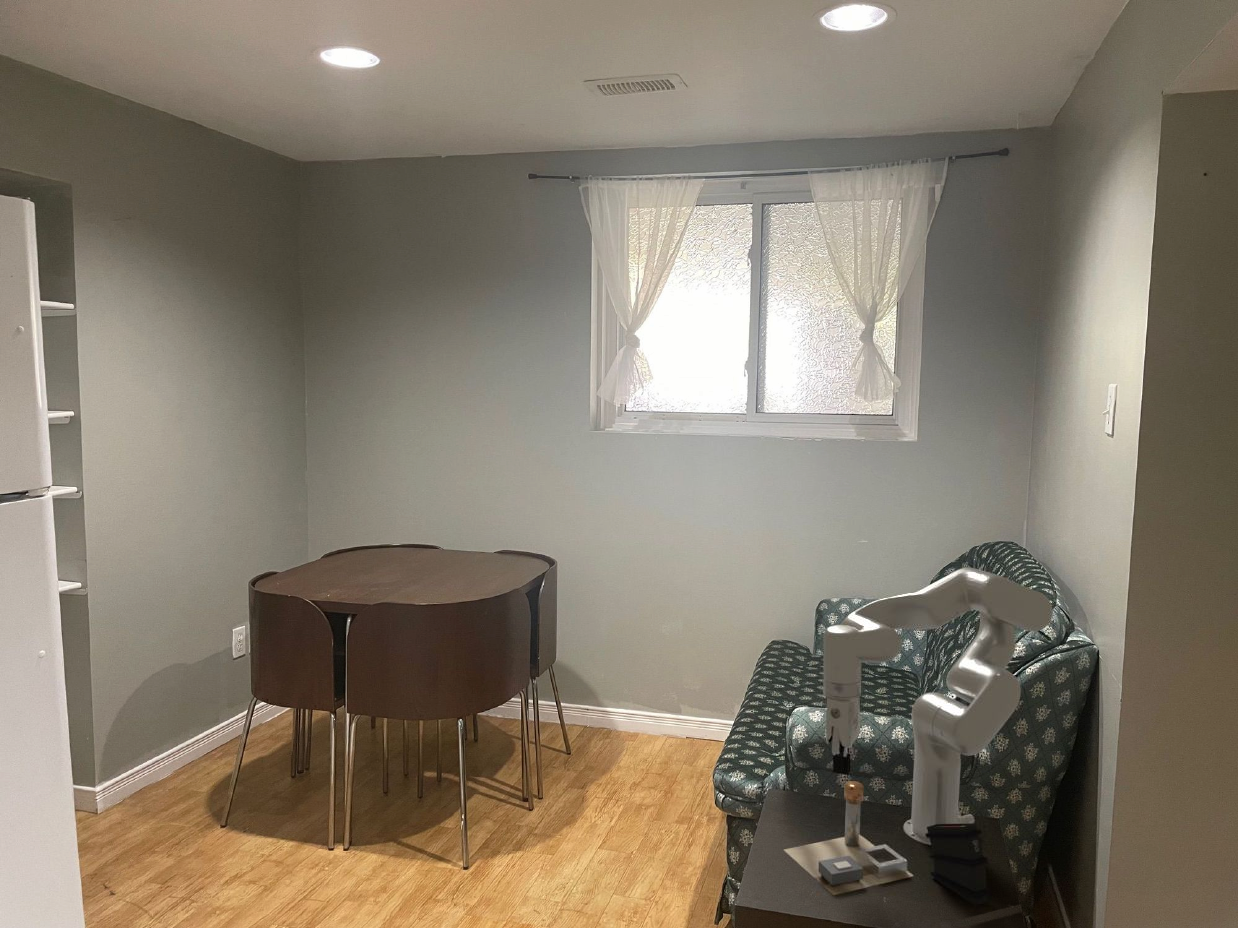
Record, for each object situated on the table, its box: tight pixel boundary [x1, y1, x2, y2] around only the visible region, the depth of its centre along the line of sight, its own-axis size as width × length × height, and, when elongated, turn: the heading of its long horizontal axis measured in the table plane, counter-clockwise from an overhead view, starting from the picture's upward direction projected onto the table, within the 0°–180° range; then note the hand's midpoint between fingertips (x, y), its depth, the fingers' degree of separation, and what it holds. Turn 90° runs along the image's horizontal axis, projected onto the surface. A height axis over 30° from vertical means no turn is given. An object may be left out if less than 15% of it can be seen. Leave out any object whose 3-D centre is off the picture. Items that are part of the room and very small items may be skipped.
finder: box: [818, 856, 863, 887], centre depth 187 cm, size 7×5×3 cm
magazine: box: [925, 822, 991, 906], centre depth 184 cm, size 4×13×15 cm, turn 27°
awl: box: [843, 780, 864, 847], centre depth 200 cm, size 4×4×13 cm
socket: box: [857, 844, 908, 879], centre depth 191 cm, size 7×7×2 cm
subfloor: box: [783, 833, 914, 896], centre depth 193 cm, size 19×18×1 cm
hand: (841, 771), depth 195 cm, fingers closed
